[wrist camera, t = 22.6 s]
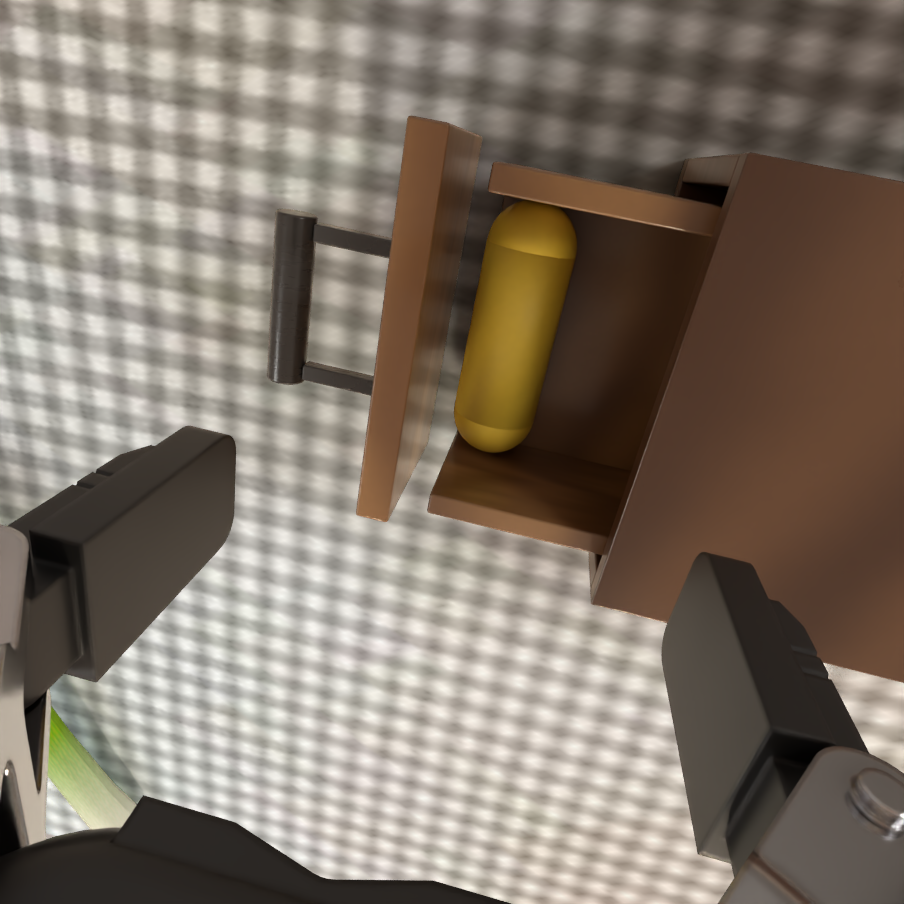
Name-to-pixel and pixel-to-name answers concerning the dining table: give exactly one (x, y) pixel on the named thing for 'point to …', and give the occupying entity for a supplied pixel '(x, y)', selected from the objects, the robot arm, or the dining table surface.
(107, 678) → the dining table surface
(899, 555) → the cabinet
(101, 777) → the celery stalk
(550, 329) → the yellow round-top cylinder
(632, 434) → the drawer
